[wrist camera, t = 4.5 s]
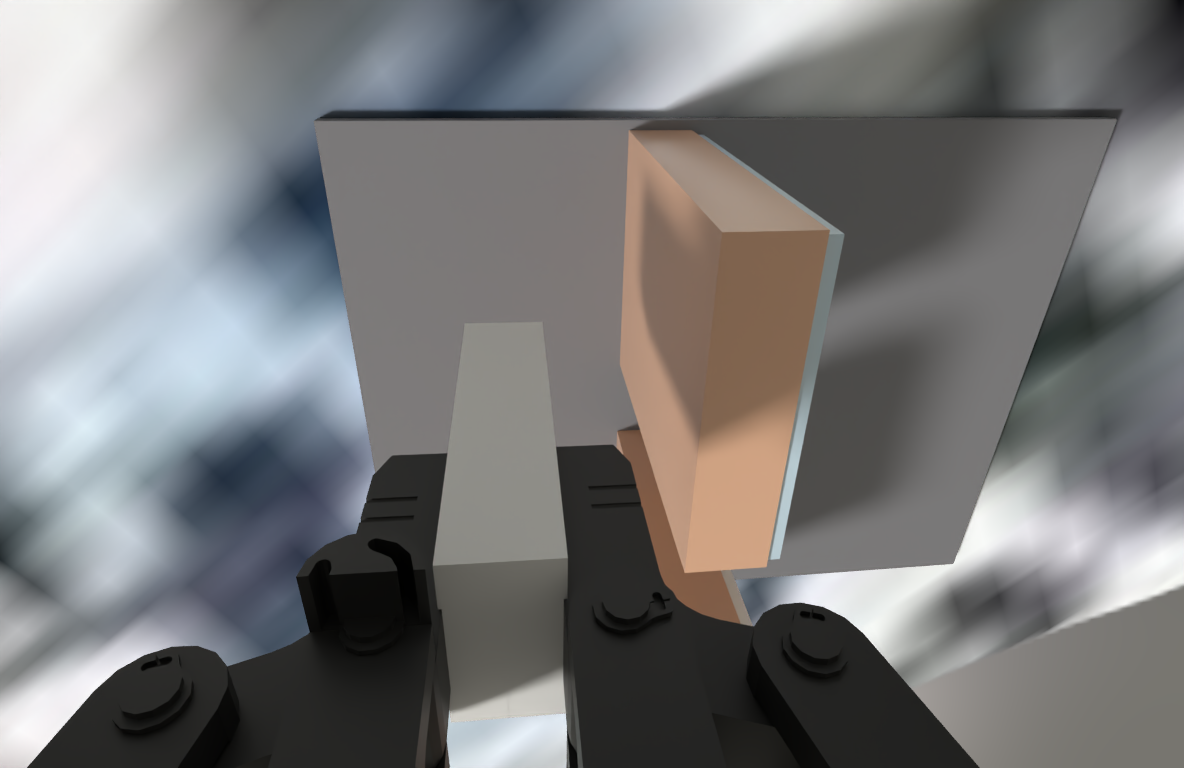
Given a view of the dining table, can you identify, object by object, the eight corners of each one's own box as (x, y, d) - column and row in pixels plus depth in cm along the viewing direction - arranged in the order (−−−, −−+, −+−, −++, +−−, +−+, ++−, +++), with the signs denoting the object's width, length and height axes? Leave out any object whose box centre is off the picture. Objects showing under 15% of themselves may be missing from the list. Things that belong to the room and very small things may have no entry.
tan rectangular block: (628, 130, 18) (721, 232, 10) (703, 129, 18) (848, 229, 11) (619, 364, 22) (684, 572, 14) (682, 361, 22) (781, 566, 14)
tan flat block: (617, 430, 23) (675, 656, 15) (676, 428, 23) (763, 649, 15) (611, 583, 26) (656, 832, 18) (662, 580, 26) (728, 824, 19)
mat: (317, 118, 18) (313, 120, 17) (1106, 117, 20) (1117, 119, 19) (399, 596, 26) (398, 604, 26) (947, 556, 28) (953, 563, 28)
